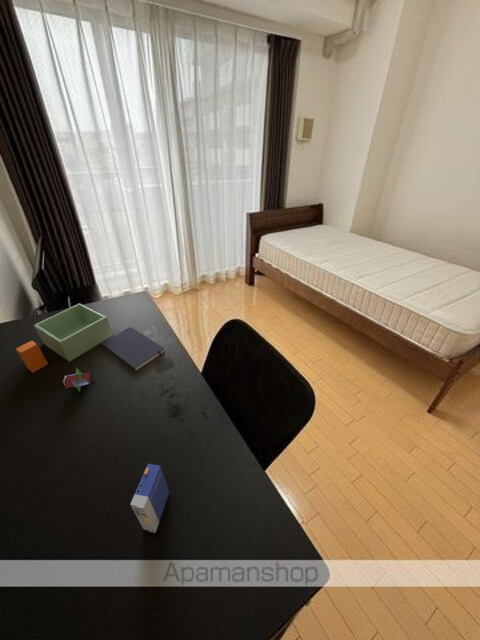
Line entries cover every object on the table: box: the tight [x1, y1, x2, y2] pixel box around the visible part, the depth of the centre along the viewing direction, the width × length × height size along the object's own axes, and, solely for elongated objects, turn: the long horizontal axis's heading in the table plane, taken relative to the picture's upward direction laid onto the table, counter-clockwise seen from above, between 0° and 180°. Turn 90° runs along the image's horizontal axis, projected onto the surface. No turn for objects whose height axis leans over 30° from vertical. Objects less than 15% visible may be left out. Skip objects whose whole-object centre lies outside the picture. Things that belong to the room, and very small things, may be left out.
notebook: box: [100, 326, 166, 372], centre depth 103 cm, size 13×2×21 cm
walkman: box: [130, 463, 170, 534], centre depth 57 cm, size 8×3×12 cm, turn 170°
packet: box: [15, 340, 49, 374], centre depth 94 cm, size 4×5×9 cm
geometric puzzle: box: [62, 366, 91, 393], centre depth 87 cm, size 7×7×8 cm
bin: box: [33, 303, 114, 362], centre depth 106 cm, size 18×18×9 cm
